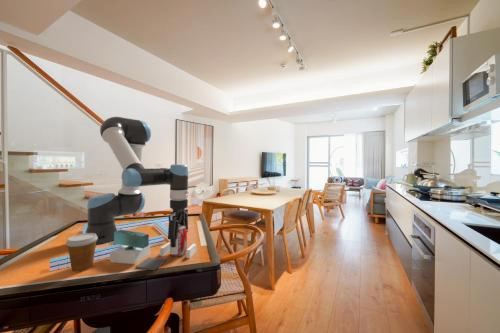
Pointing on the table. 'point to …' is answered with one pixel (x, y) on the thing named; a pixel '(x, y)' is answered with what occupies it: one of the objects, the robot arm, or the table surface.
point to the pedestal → (129, 254)
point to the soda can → (181, 240)
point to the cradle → (189, 251)
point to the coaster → (151, 263)
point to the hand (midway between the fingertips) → (178, 250)
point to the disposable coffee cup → (81, 251)
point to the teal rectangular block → (131, 239)
